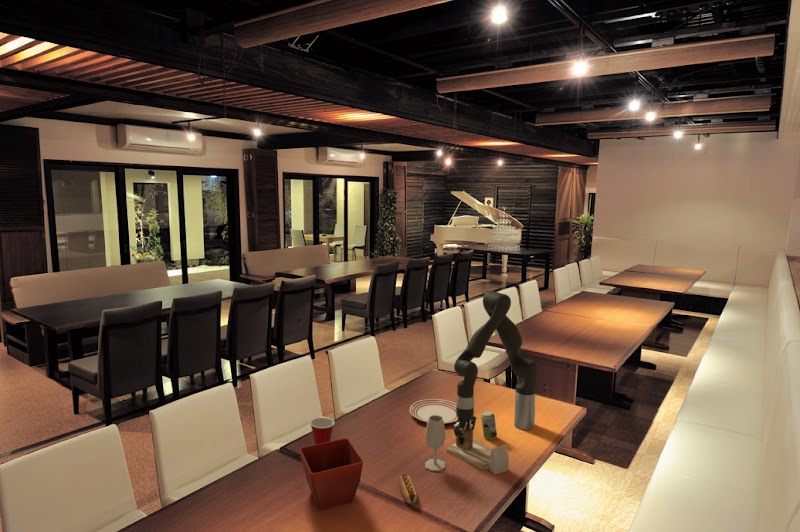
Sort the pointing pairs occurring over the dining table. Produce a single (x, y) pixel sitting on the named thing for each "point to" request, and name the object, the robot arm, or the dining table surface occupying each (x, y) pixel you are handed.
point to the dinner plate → (434, 410)
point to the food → (407, 489)
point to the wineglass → (435, 441)
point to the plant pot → (332, 472)
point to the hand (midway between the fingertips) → (464, 442)
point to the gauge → (466, 439)
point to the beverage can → (489, 425)
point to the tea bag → (499, 460)
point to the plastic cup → (322, 429)
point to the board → (473, 454)
